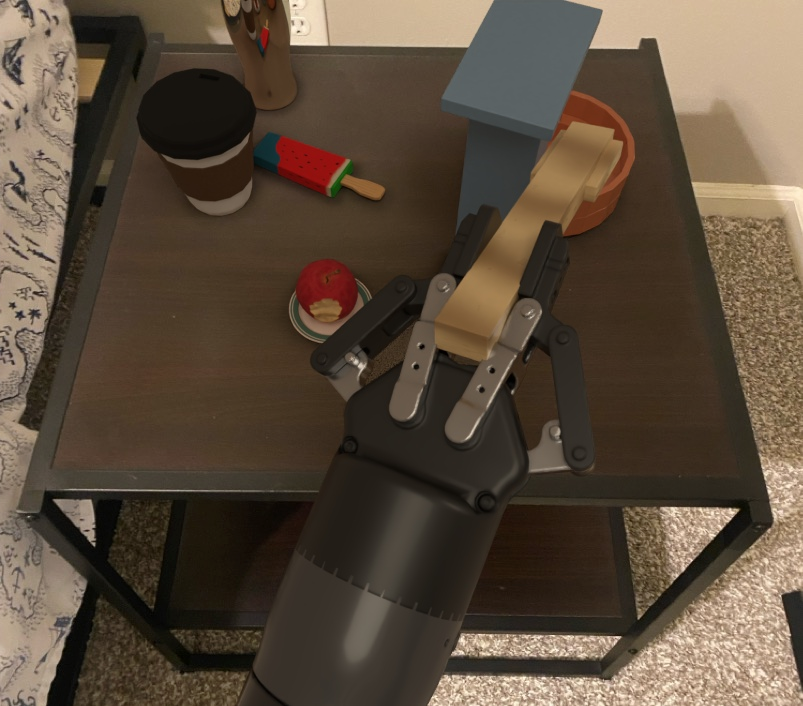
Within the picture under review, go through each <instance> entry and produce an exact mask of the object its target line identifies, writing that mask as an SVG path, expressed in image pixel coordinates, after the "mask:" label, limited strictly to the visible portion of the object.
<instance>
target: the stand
mask: <svg viewBox="0 0 803 706" xmlns="http://www.w3.org/2000/svg"><path fill="white" fill-rule="evenodd" d="M603 12H604V10H603V9H602V8H598V7H594V6H590V5H586V4H583V3H582V4H581V3H577V2H574V1H570V0H493V1H492V3H491V4H490V6H489V8H488V10H487V12H486V14H485V16H484V18H483V19H482V21H481V23H480V25H479V27H478V29H477V30H476V32H475V34H474V36H473V38H472V40H471V42H470V44H469V45H468V48H467V49H466V51H465V53H464V54H463V57H462V59H461V61H460V62H459V64H458V66H457V68H456V69H455V71H454V73H453V75H452V77H451V79H450V80H449V82H448V84H447V86H446V88H445V90H444V92H443V93H442V96H441V97H440V106H439V107H440V109H439V110H440V111H441V112H444V113H448V114H451V115H454V116H458V117H461V118H465V119H468V125H467V126H468V127H467V136H466V144H465V152H464V161H463V168H462V169H463V170H462V177H461V186H460V193H459V200H458V201H459V203H458V210H457V219H456V228H455V235H456V234H457V231H458V228H459V226H460V223H461V221H462V220H463V219H464V218H465V217H466V216H467V215H468V214H469V213H471V214H475V215H477V213H478V210H479V208H480V206H481V205H482V204H486V205H490V206H494V207H498V209H499V212H500V215H501V219H502V222H503V221H504V219H505V218H506V216H507V215H508V213H509V212H510V211H511V209H512V208H513V206H514V205H515V203H516V202H517V201H518V199H519V198H520V196H521V195H522V193H523V192H524V190H525V189H526V188H527V186H528V185H529V183H530V175H531V171H532V170H533V169H534V167H535V166H536V164H537V163H538V161H539V160H540V159H541V157H542V156H543V154H544V153H545V152H546V149H547V145H548V142H551V140H552V137H553V135H554V133H555V130H556V128H557V125H558V123H559V120H560V118H561V115H562V113H563V111H564V108H565V106H566V103H567V101H568V98H569V96H570V94H571V91H572V90H573V88H574V85H575V84H576V81H577V79H578V76H579V74H580V72H581V70H582V67H583V64H584V62H585V59H586V57H587V55H588V52H589V49H590V47H591V44H592V42H593V40H594V38H595V35H596V33H597V31H598V29H599V25H600V23H601V19H602V16H603Z"/></svg>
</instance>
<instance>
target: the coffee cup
mask: <svg viewBox="0 0 803 706" xmlns="http://www.w3.org/2000/svg"><path fill="white" fill-rule="evenodd" d="M257 113H258V112H257V108H256V107H255V104H254V101H253V98H252V95H251V92H250V91H248V90H247V89H246V88H245V84H243V83H241V82H240V80H238V79H237V78H236V77H235V76H234V75H231V74H229V73H226V72H223V71H220V70H218V69H214V68H200V67H193V68H192V67H191V68H188V69H183V70H178V71H174V72H171V73H170V74H168V75H166V76H165V77H162V78H161V79H159V80H156V82H154V84H152V85H151V86H150V87H149V88H148V90H147V91H146V92H145V93H144V94H143V95H142V98H141V100H140V103H139V106H138V109H137V114H136V118H135V119H136V122H137V126H138V131H139V135H140V137H141V139H142V141H144V143H146V144H147V145H148V146H149V148H151V150H152V151H154V152H155V153H156V154H157V156H158V157H159V159H160V161H161V162H162V163H163V165H164V167H165V168H166V170H167V172H168V174H169V175H170V176H171V178H172V179H173V181H174V182H175V184H176V185H177V187H178V188H179V189H180V191H182V193H184V196H186V198H187V200H188V201H189V202H190V203H191V204H192V206H194V207H195V208H196V210H198V211H200V212H201V213H204V214H207V215H208V216H217V217H219V216H220V217H223V216H227V215H230V214H234V213H236V212H237V211H239V210H240V209H242V208H243V207H244V206H245V205H246V203H248V201H249V198H250V196H251V194H252V190H253V189H252V188H253V173H254V169H255V168H254V165H255V164H254V163H253V150H254V134H253V133H254V132H253V130H254V127H255V122H256V117H257Z"/></svg>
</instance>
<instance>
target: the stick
mask: <svg viewBox="0 0 803 706" xmlns="http://www.w3.org/2000/svg"><path fill="white" fill-rule="evenodd" d="M613 136H614V129H611V128H605V127H600V126H595V125H590V124H585V123H579V122H574V121H573V122H572V123H571V124H570V126H569V127H568V129H567V130H560V132H559V133H558V135H557V136H556V137H555V139H554V140H553V142H552V143H551V144H550V146H549V147H548V149H547V150H546V152H545V153H544V154H543V156H542V157H541V159H540V160H539V161H538V163H537V164H536V166H535V167H534V169H533V170H532V171H531V175H530V183H529V185H528V186H527V188H526V189H525V190H524V192H523V193H522V195H521V196H520V198H519V199H518V201H517V202H516V203H515V205H514V206H513V208H512V209H511V211H510V212H509V213H508V215H507V216H506V218H505V219H504V221H503V222H502V224H501V226H500V227H499V229H498V230H497V232H496V233H495V235H494V236H493V237H492V239H491V240H490V242H489V243H488V245H487V246H486V248H485V249H484V250H483V252H482V253H481V255H480V256H479V258H478V259H477V261H476V262H475V263H474V265H473V266H472V268H471V269H470V270H469V271H468V272H467V274H466V275H465V277H464V278H463V280H462V281H461V282H460V284H459V285H458V287H457V288H456V290H455V291H454V293H453V294H452V295H451V297H450V298H449V300H448V301H447V303H446V304H445V305H444V307H443V308H442V310H441V311H440V313H439V314H438V315H437V317H436V318H435V320H434V330H435V343H436V344H437V348H439V349H442V350H445V351H448V352H451V353H454V354H456V355H458V356H460V357H463V358H467V359H470V360H473V361H476V362H479V363H480V362H481V360H482V359H483V360H487V359H488V357H489V355H490V352H491V349H492V347H493V345H494V344H495V342H497V341H498V339H499V337H500V334H501V332H502V329H503V327H504V324H505V323H506V321H507V319H508V317H509V315H510V313H511V311H512V310H513V308H514V306H515V304H516V303H517V302H518V301H519V300H520V299H519V296H518V293H517V292H518V290H519V287H520V284H519V283H520V281H521V278H522V276H523V273H524V270H525V268H526V265H527V263H528V260H529V258H530V255H531V253H532V250H533V248H534V245H535V243H536V240H537V238H538V235H539V232H540V230H541V227H542V225H543V223H544V221H545V220H548V221H552V222H556V223H560V224H562V231H563V234H564V232H565V230H566V229H567V227H568V225H569V224H570V222H571V220H572V218H573V217H574V215H575V213H576V212H577V210H578V208H579V207H580V205H581V203H582V201H583V200H584V201H589V202H595V201H596V199H597V197H598V195H599V194H600V192H601V190H602V188H603V187H604V185H605V183H606V181H607V180H608V178H609V176H610V174H611V172H612V171H613V169H614V167H615V165H616V164H617V162H618V160H619V158H620V157H621V152H622V147H623V142H622V141H618V140H613Z"/></svg>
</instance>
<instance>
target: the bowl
mask: <svg viewBox="0 0 803 706" xmlns="http://www.w3.org/2000/svg"><path fill="white" fill-rule="evenodd" d="M573 121H574V122H579V123H585V124H590V125H595V126H600V127H605V128H611V129H614V136H613V140H618V141H622V142H623V147H622V152H621V157H620V158H619V160H618V162H617V164H616V165H615V167H614V169H613V171H612V172H611V174H610V176H609V178H608V180H607V181H606V183H605V185H604V187H603V188H602V190H601V192H600V194H599V195H598V197H597V199H596V201H595V202H589V201H584V200H583V201H582V203H581V205H580V207H579V208H578V210H577V212H576V213H575V215H574V217H573V218H572V220H571V222H570V224H569V225H568V227H567V229H566V230H565V232H564V234H563V237H568V236H576V235H581V234H584V233H585V232H587V231H589V230H591V229H593V228H596V227H598V226H599V225H601V224H602V223H603V222H604V221H605V220H606V219H607V218H608V217H609V216H610V215H611V214H612V213H613V212H614V210H615V208H616V206H617V203H618V201H619V199H620V196H621V193H622V192H623V189H624V187H625V185H626V181H627V179H628V177H629V174H630V172H631V169H632V166H633V165H634V162H635V159H636V149H635V139H634V137H633V135H632V133H631V131H630V128H629V126H628V125H627V123H626V121H625V120H624V119H623V118H622V117H621V116H620V115H619V114H618V113H617V112H616V111H615V110H614V109H613V108H612V107H610V106H609V105H608V104H605V103H604V102H602V101H600V100H599V99H597V98H595V97H593V96H592V95H589V94H587V93H583V92H581V91H576V90H573V89H572V91H571V94H570V96H569V98H568V101H567V103H566V106H565V108H564V111H563V113H562V115H561V118H560V120H559V123H558V125H557V128H556V130H555V133H554V135H553V137H552V140H551V142H548V145H547V149H548V147H549V146H550V144H551V143H552V142H553V140H554V139H555V137H556V136H557V135H558V133H559V132H560V130H567V129H568V127H569V126H570V124H571V123H572V122H573ZM547 149H546V150H547Z"/></svg>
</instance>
